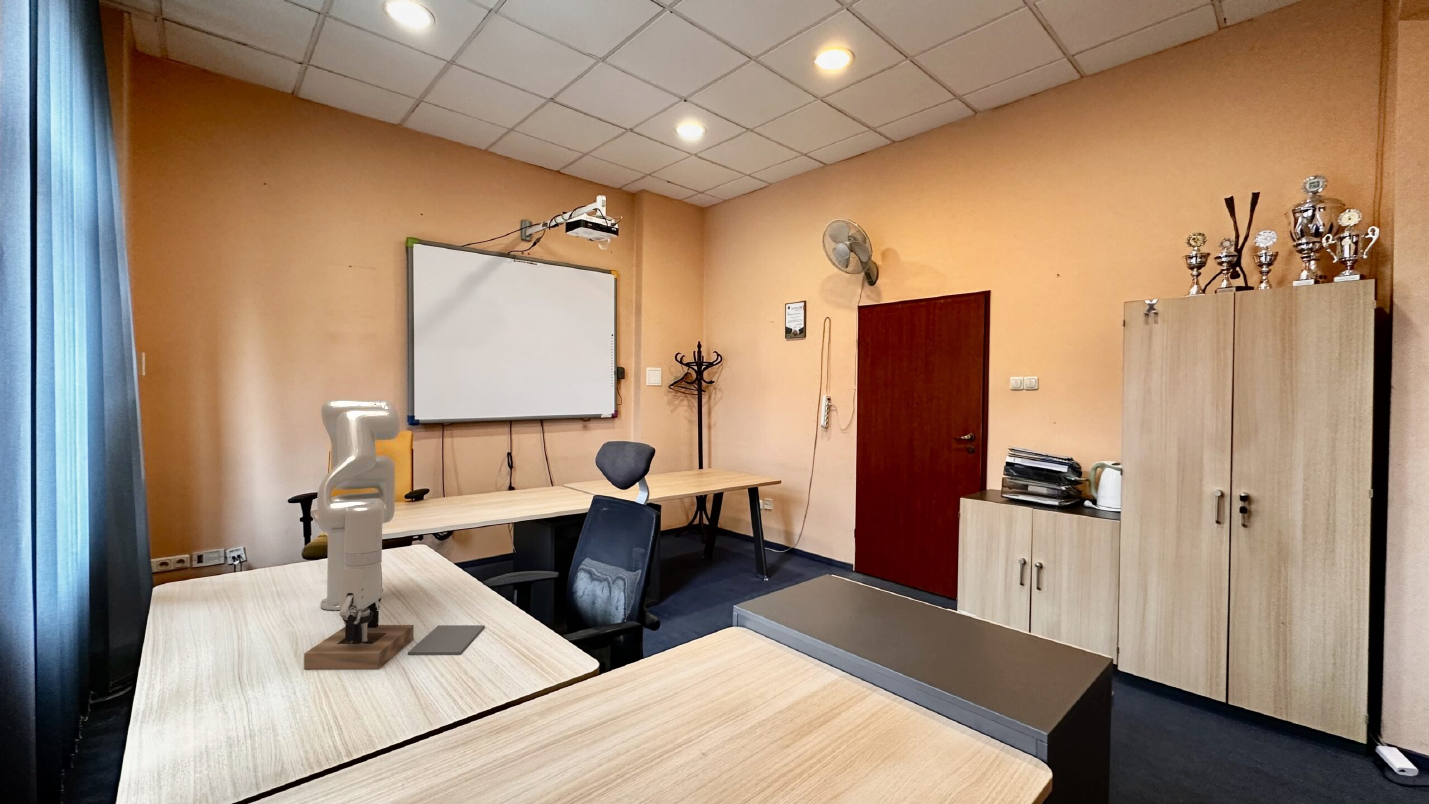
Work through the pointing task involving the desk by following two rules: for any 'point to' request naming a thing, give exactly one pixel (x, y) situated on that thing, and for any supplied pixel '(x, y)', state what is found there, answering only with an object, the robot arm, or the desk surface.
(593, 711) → the desk surface
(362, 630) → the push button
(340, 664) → the holder
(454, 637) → the pad
